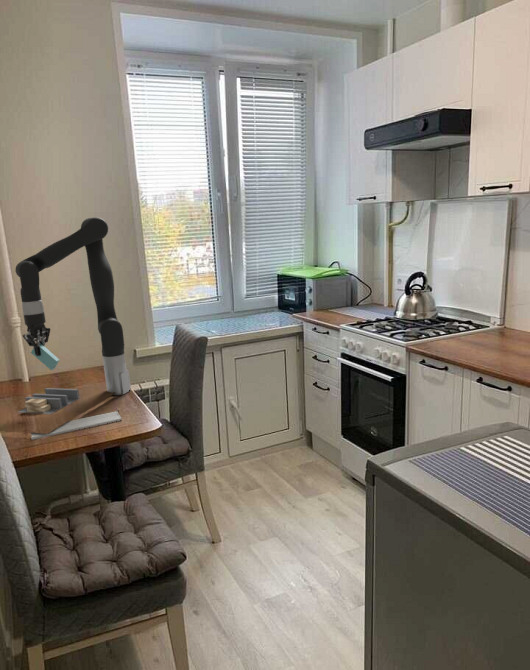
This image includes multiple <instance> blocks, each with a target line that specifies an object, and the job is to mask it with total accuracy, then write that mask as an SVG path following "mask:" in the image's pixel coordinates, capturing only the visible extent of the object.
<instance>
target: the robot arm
mask: <svg viewBox="0 0 530 670" xmlns="http://www.w3.org/2000/svg"><path fill="white" fill-rule="evenodd" d="M108 232H109V226H108V223H107V222H106V220H104V219H103V218H101V217H95V216H94V217H90V218H89V217H88V218H86V219H84V220H83V221H82V223H81V226H80V228H79V229H77V230H76V231H75V232H74V233H72V234H70V235H68V236H66V237H64V238H61V239H60V240H57V241H55V242H53V243H52V244H50V245H48V246H46V247H45V248H43V249H41V250H40V251H38V252H37V253H36V254H33V255H31V256H29V257H27V258H25V259H23V260H20V262H18V263H17V264H16V266H15V268H14V269H15V270H14V271H15V274H16V275H17V277H19V281H20V285H21V288H20V289H19V290H20V299H21V305H22V306H21V307H22V314H23V315H22V316H23V319H24V325H25V326H26V327H27V330H26V331H27V332H26V334H22V337H23V339H24V340H25V342H26V343H27V345H28V346H29V347H33V348H34V350H35V355H36V356H41V351H40V347H39V346H40V343H41V344H42V345H43V346H44V347H46V346H45V345H46V343H48V341H49V338H50V333H51V328H50V327H46V325H45V324H46V323H47V321H46V315H45V314H46V313H45V310H44V305H43V301H42V295H41V289H40V272H41V271H43V270H45V269H48V268H51V267H53V266H54V265H56V264H58V263H59V262H61V261H62V260H64V259H65V258H67V257H69V256H70V255H72V254H73V253H75V252H76V251H79V249H81V248H83V247H85V252H86V257H87V265H88V272H89V273H88V274H89V280H90V286H91V291H92V296H93V299H94V304H95V306H96V313H97V314H96V315H97V330H98V333H99V334H100V340H101V354H102V355H101V356H102V363H103V369H104V379H105V385H106V391H107V392H108V393H113V394H112V396H120V395H125V394H126V393H128V392H130V391H131V390H132V388H131V387H132V386H131V381H130V372H129V369H127V363H126V356H125V355H126V354H125V340H124V339H125V338H124V331H123V330H124V329H123V326H122V324H121V323H120V322H119V320H118V317H117V313H116V310H115V302H114V301H115V283H114V282H115V281H114V276H113V271H112V267H111V264H110V262H109V260H108V258H107V255H106V253H105V250H104V241H103V239H104V238H106V237H107V234H108ZM129 390H130V391H129Z"/></svg>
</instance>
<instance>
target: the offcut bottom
mask: <svg viewBox="0 0 530 670" xmlns="http://www.w3.org/2000/svg"><path fill="white" fill-rule="evenodd" d="M26 408H27V412H41V413H44V412H46V411H48V410H50V409H51V406H50V404H46V405H44V406H42V407H41V408H37V407H26Z"/></svg>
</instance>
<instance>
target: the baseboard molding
mask: <svg viewBox="0 0 530 670" xmlns="http://www.w3.org/2000/svg"><path fill="white" fill-rule="evenodd" d="M120 420H122V416H121V413H120V410H119V409H116V410H115V411H112V412H107V413H102V414H97V415H92V416H87V417H83V418H77V419H73V420H68V421H66V422H64V423H63V424H61V425H60V426H58V427H56V428H54V429H53V430H51V431H49V432H48V433H43V432H30V436H31V437H30V438H31V441H34V440H38V439H42V438H43V439H44V438H47V437H53V436H57V435H61V434H67V433H70V432H71V433H72V432H75V430H76V431H80V430H84V428H85V429H89V427H90V428H93V427H97V426H98V425H99V426H102V425H106V424H107V423H108V424H112V422H113V423H117V422H121V421H120ZM116 421H117V422H116ZM108 424H107V425H108ZM99 426H98V427H99ZM79 429H80V430H79Z"/></svg>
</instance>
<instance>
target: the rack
mask: <svg viewBox="0 0 530 670" xmlns="http://www.w3.org/2000/svg"><path fill="white" fill-rule="evenodd" d="M80 398H81V397H80V391H79V389H77V388H76V389H75V388H55V387H54V388H53V387H52V388H51V387H46V388H44V393H32V396H26V397H25V402H26V401H28V400H30V399H46V401H47V404H50V406H51V409H50V410H48V411H46V412H44V413H41V412H27V407H25V408H22V409H21V410H18V413H20V414H21V413H24V414H25V413H26V414H40V415H41V414H42V415H44V414H45V415H52V414H54V413H56V412H58V411H60V410H61V409H63V408H65V407H67V406H69V405H70V404H72V403H74V402H76V401H78V400H80Z"/></svg>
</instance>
